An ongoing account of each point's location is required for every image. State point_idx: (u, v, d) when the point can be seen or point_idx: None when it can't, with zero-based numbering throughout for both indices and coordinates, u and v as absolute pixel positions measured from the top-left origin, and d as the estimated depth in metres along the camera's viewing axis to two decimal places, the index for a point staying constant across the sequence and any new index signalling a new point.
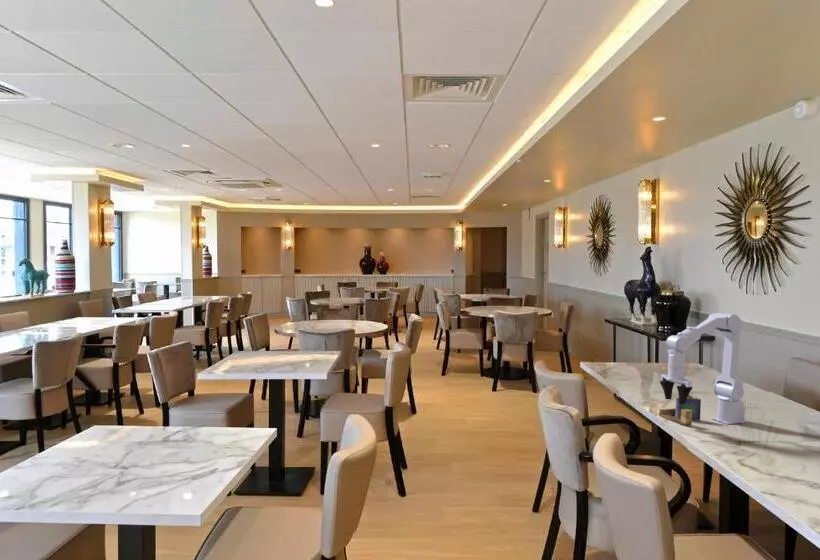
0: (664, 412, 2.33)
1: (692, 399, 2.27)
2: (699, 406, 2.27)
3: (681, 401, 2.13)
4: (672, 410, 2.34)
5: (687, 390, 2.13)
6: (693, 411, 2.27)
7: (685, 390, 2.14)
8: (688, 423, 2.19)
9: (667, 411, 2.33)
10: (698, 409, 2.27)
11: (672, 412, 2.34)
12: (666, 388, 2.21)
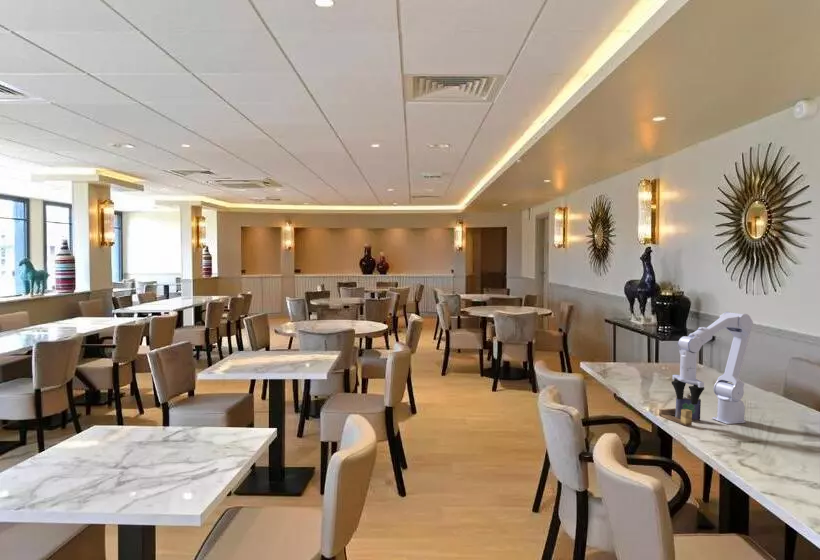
0: (664, 412, 2.33)
1: None
2: (699, 406, 2.27)
3: (693, 401, 2.16)
4: (672, 410, 2.34)
5: (699, 390, 2.15)
6: (693, 411, 2.27)
7: (697, 390, 2.16)
8: (688, 423, 2.19)
9: (667, 411, 2.33)
10: (698, 409, 2.27)
11: (672, 412, 2.34)
12: (678, 388, 2.23)
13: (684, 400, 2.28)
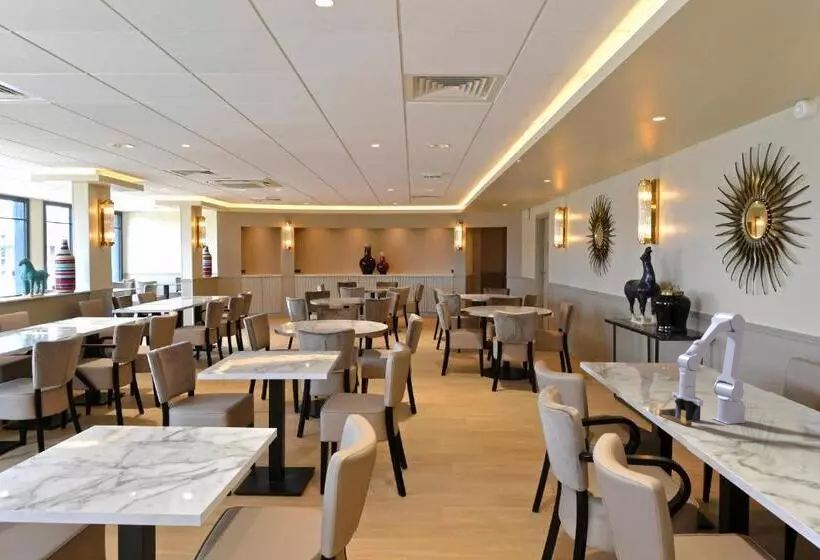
0: (664, 412, 2.33)
1: None
2: (699, 406, 2.27)
3: (688, 417, 2.18)
4: (672, 410, 2.34)
5: (694, 407, 2.18)
6: None
7: (692, 407, 2.18)
8: (688, 423, 2.19)
9: (667, 411, 2.33)
10: (698, 409, 2.27)
11: (672, 412, 2.34)
12: (681, 407, 2.21)
13: None
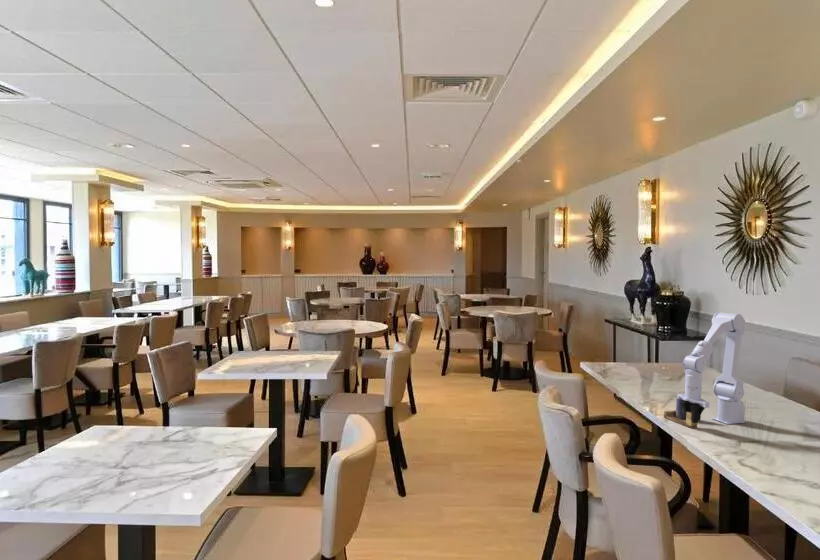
0: (669, 414, 2.30)
1: None
2: None
3: (694, 420, 2.15)
4: None
5: (700, 409, 2.15)
6: None
7: (698, 409, 2.15)
8: (694, 425, 2.16)
9: (672, 413, 2.30)
10: None
11: None
12: (687, 409, 2.19)
13: None
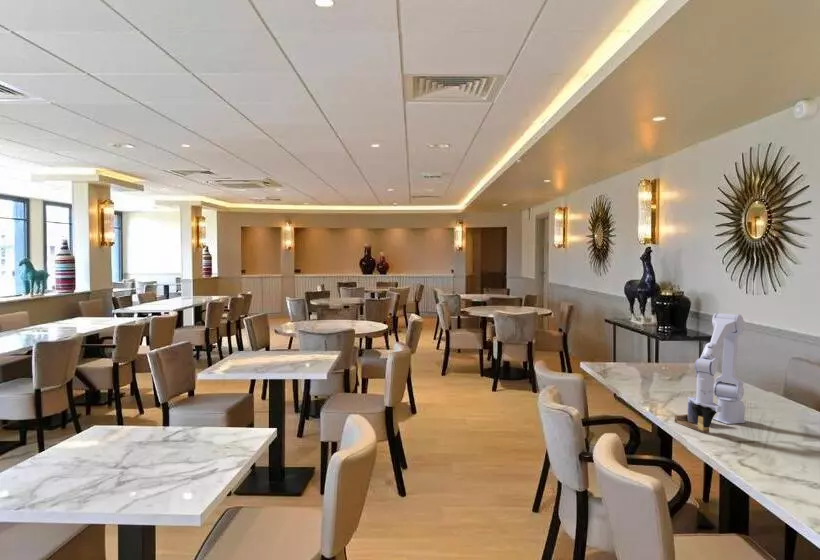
0: (680, 418, 2.24)
1: None
2: None
3: (706, 424, 2.10)
4: None
5: (712, 413, 2.10)
6: None
7: (710, 413, 2.10)
8: (706, 430, 2.11)
9: (683, 417, 2.25)
10: None
11: None
12: (698, 413, 2.13)
13: None
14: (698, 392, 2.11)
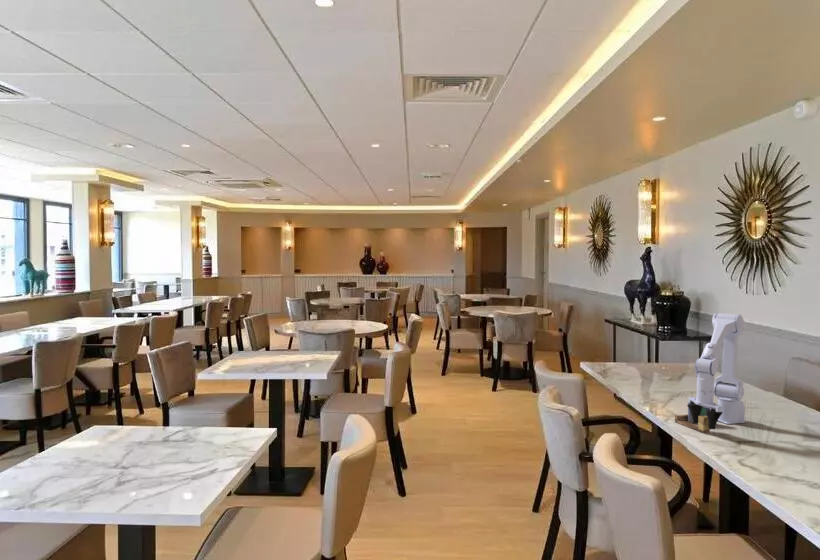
0: (680, 418, 2.24)
1: None
2: None
3: (711, 426, 2.07)
4: None
5: (717, 415, 2.07)
6: (704, 414, 2.23)
7: (715, 415, 2.08)
8: (706, 430, 2.11)
9: (683, 417, 2.24)
10: None
11: None
12: (694, 412, 2.15)
13: None
14: (698, 392, 2.11)
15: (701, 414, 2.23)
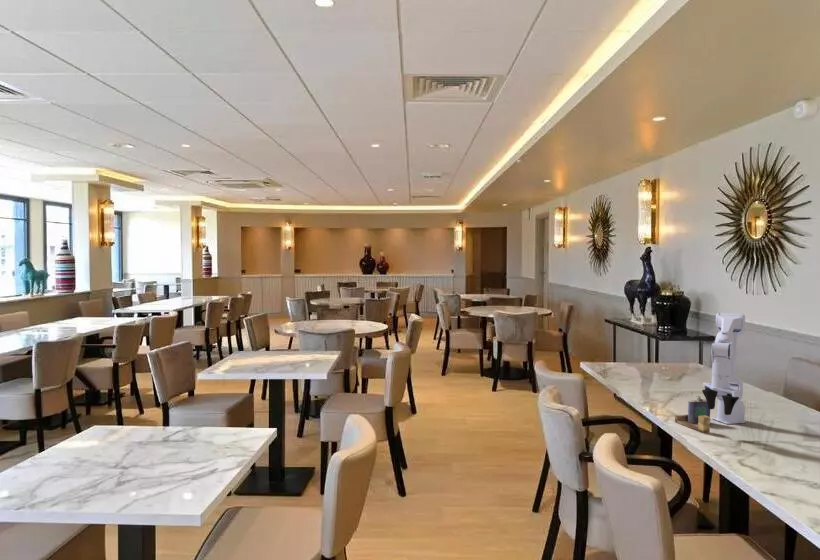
0: (680, 418, 2.24)
1: (704, 402, 2.23)
2: None
3: (727, 411, 2.02)
4: None
5: (733, 400, 2.01)
6: (704, 414, 2.23)
7: (731, 400, 2.02)
8: (706, 430, 2.11)
9: (683, 417, 2.24)
10: (709, 411, 2.24)
11: None
12: (709, 397, 2.09)
13: (697, 404, 2.23)
14: (714, 377, 2.05)
15: (701, 414, 2.23)
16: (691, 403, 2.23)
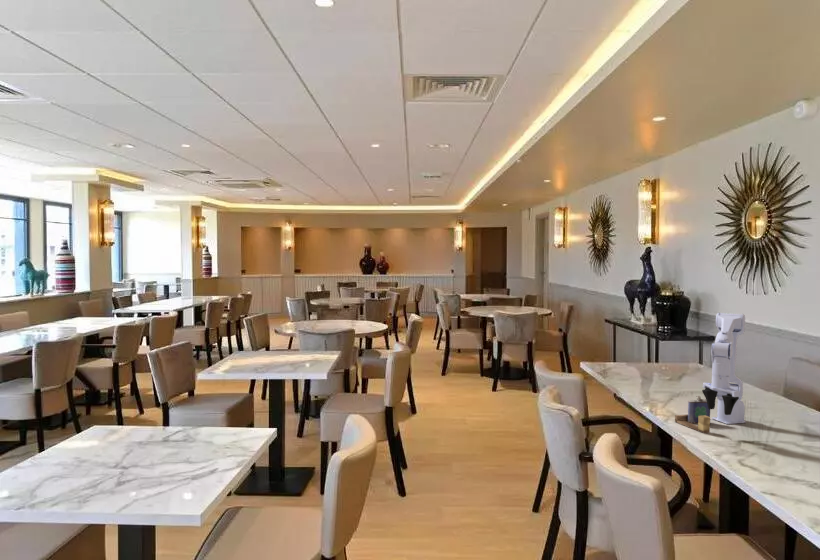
0: (680, 418, 2.24)
1: (704, 402, 2.23)
2: None
3: (727, 411, 2.02)
4: None
5: (733, 400, 2.01)
6: (704, 414, 2.23)
7: (731, 400, 2.02)
8: (706, 430, 2.11)
9: (683, 417, 2.24)
10: (709, 411, 2.24)
11: None
12: (709, 397, 2.09)
13: (697, 404, 2.23)
14: (714, 377, 2.05)
15: (701, 414, 2.23)
16: (691, 403, 2.23)
